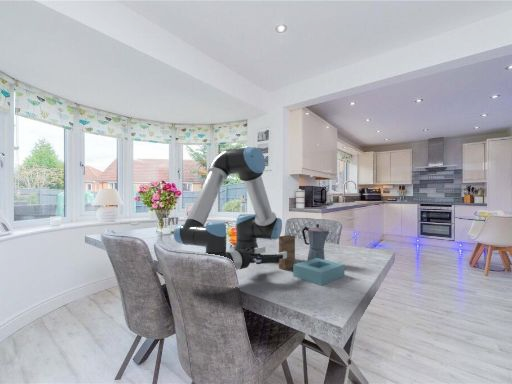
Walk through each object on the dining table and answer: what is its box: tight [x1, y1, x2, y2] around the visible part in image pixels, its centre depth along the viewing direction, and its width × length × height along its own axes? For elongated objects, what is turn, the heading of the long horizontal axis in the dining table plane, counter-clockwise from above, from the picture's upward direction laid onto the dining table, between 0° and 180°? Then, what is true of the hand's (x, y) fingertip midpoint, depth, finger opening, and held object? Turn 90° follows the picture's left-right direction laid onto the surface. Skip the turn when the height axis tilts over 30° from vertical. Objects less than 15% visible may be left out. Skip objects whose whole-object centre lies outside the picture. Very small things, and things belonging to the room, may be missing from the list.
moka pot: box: [301, 223, 330, 261], centre depth 124 cm, size 10×15×20 cm, turn 53°
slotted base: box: [292, 258, 345, 286], centre depth 104 cm, size 14×17×5 cm
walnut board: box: [278, 234, 296, 271], centre depth 116 cm, size 4×7×15 cm, turn 131°
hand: (275, 251), depth 110 cm, fingers open, 13 cm apart
